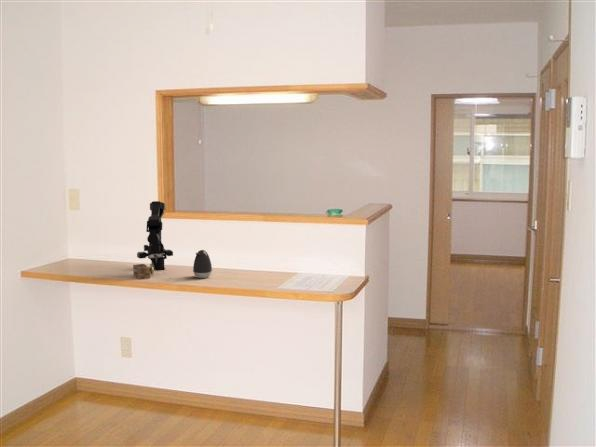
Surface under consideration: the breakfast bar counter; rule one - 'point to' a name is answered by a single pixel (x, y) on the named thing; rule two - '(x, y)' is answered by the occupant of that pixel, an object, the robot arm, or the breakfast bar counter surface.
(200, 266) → the black egg-shaped device
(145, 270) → the block
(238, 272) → the breakfast bar counter surface
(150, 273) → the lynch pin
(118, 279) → the breakfast bar counter surface
